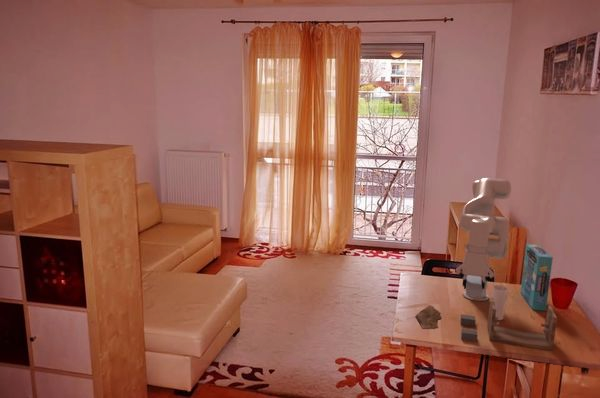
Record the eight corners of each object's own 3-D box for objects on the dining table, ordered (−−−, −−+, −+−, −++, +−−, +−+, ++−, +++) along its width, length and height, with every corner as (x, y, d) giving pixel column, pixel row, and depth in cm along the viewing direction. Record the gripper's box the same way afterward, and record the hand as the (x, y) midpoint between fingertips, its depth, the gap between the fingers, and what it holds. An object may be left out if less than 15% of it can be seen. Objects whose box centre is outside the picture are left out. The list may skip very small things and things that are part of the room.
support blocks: (460, 320, 209) (461, 314, 208) (474, 322, 207) (475, 316, 206) (461, 339, 192) (462, 332, 191) (476, 341, 190) (477, 335, 189)
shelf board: (465, 277, 205) (466, 272, 205) (480, 279, 203) (480, 273, 203) (466, 294, 187) (466, 288, 186) (481, 296, 185) (482, 291, 184)
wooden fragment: (436, 332, 198) (436, 329, 198) (410, 326, 202) (411, 324, 202) (444, 308, 221) (444, 306, 221) (421, 304, 225) (421, 302, 225)
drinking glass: (494, 322, 207) (497, 291, 204) (485, 315, 214) (489, 285, 211) (507, 321, 209) (511, 290, 205) (499, 314, 215) (502, 284, 212)
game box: (546, 311, 220) (553, 257, 214) (532, 310, 221) (539, 256, 215) (532, 294, 239) (539, 244, 234) (519, 293, 240) (526, 243, 235)
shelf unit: (487, 327, 202) (490, 297, 200) (546, 336, 196) (551, 305, 193) (489, 340, 191) (493, 309, 188) (552, 350, 184) (557, 318, 181)
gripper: (455, 248, 191) (451, 289, 195) (500, 253, 185) (495, 295, 189) (455, 243, 198) (452, 282, 201) (499, 248, 192) (494, 288, 196)
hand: (473, 288), depth 195 cm, fingers closed on shelf board, 6 cm apart
